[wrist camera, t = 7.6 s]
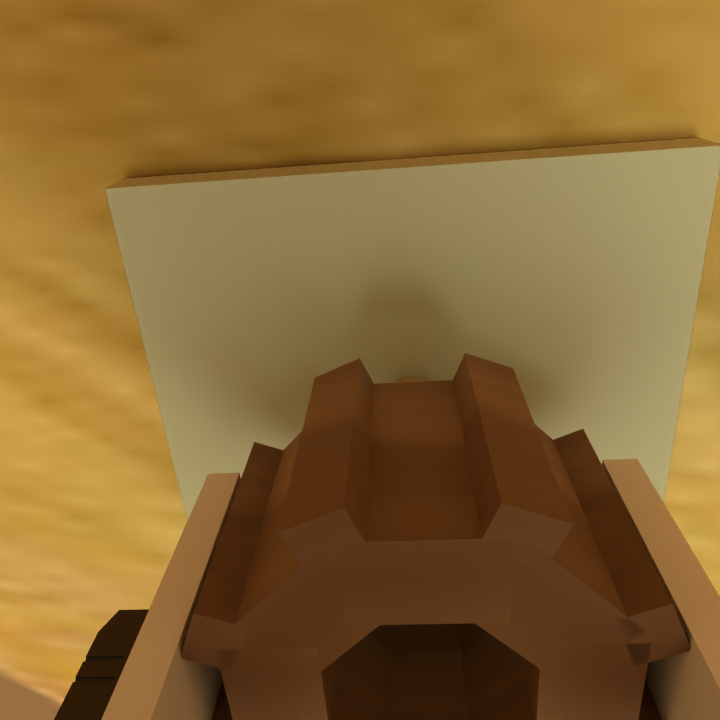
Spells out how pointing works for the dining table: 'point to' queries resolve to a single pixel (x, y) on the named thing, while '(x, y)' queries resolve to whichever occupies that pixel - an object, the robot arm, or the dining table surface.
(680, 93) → the dining table surface
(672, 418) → the gear board
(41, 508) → the dining table surface
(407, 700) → the walnut gear
